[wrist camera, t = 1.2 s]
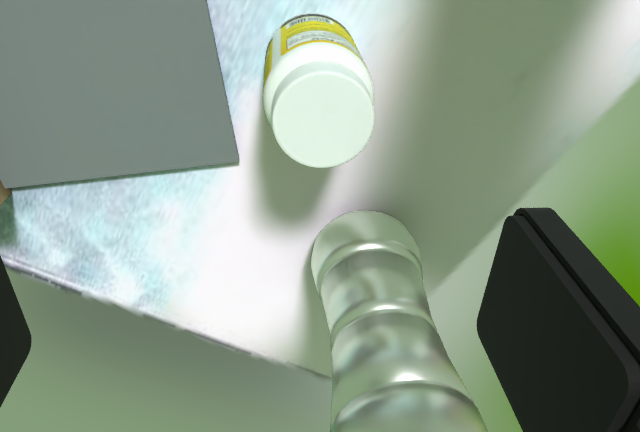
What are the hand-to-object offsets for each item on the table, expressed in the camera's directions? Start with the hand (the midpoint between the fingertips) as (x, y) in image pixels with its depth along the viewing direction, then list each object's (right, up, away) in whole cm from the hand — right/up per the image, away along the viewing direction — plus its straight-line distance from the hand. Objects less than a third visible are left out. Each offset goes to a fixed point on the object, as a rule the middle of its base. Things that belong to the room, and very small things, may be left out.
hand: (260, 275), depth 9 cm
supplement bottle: (+1, +9, +17) cm, 19 cm away
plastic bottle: (+4, 0, +23) cm, 24 cm away
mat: (-11, +9, +16) cm, 21 cm away
